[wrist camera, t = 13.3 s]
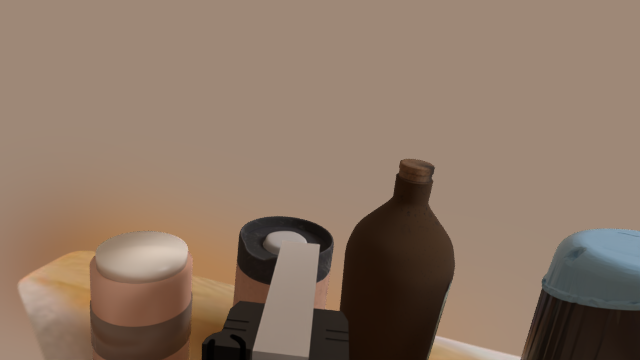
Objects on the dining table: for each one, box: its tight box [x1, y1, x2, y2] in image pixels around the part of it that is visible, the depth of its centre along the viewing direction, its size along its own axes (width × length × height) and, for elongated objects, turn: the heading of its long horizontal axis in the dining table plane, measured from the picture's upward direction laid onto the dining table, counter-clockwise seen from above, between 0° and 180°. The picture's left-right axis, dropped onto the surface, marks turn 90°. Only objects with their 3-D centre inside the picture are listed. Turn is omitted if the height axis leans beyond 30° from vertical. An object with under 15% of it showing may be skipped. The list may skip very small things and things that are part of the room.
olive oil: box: [340, 159, 455, 360], centre depth 47 cm, size 11×11×25 cm
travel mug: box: [233, 216, 334, 309], centre depth 40 cm, size 8×8×20 cm
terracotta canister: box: [90, 231, 193, 360], centre depth 46 cm, size 9×9×14 cm
